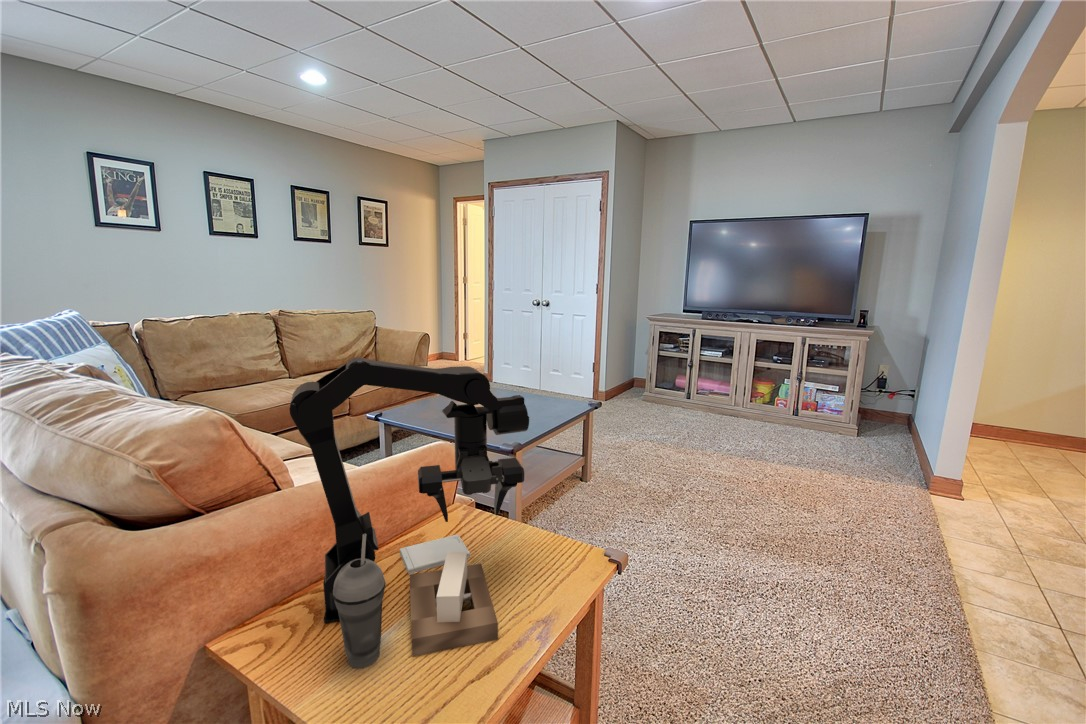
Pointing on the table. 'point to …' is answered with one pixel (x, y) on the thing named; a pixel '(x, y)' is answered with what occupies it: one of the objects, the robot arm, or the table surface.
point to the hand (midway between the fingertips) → (471, 517)
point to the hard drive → (431, 553)
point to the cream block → (452, 587)
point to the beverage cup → (360, 609)
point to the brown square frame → (450, 635)
